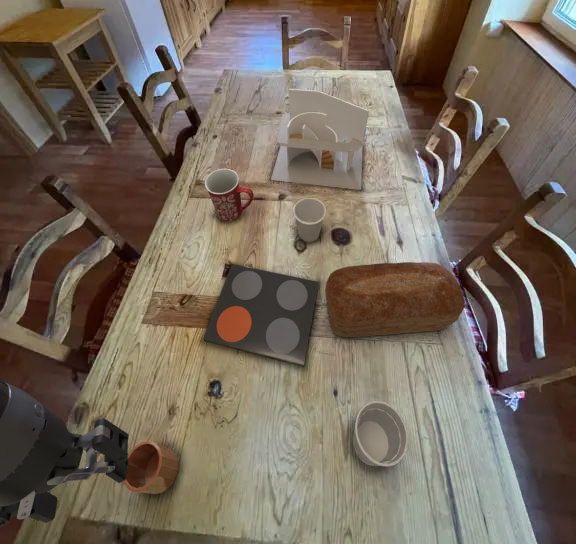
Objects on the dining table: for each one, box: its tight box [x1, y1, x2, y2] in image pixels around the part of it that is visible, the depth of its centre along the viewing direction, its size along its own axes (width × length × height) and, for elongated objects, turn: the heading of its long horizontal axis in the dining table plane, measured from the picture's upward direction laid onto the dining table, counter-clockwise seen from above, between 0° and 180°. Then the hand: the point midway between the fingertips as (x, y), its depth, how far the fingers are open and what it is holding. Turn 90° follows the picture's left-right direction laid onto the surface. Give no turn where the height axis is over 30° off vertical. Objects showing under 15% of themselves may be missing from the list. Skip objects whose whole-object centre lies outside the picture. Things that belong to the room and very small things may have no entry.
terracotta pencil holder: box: [122, 440, 179, 495], centre depth 56 cm, size 6×6×10 cm
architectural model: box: [270, 88, 370, 191], centre depth 104 cm, size 28×21×23 cm
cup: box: [352, 400, 409, 467], centre depth 57 cm, size 8×8×12 cm
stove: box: [202, 263, 320, 368], centre depth 77 cm, size 18×22×2 cm
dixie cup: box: [292, 197, 327, 243], centre depth 89 cm, size 8×8×10 cm
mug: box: [204, 168, 254, 223], centre depth 94 cm, size 13×9×14 cm
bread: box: [324, 261, 466, 338], centre depth 72 cm, size 12×28×14 cm, turn 94°
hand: (89, 490), depth 42 cm, fingers open, 8 cm apart
